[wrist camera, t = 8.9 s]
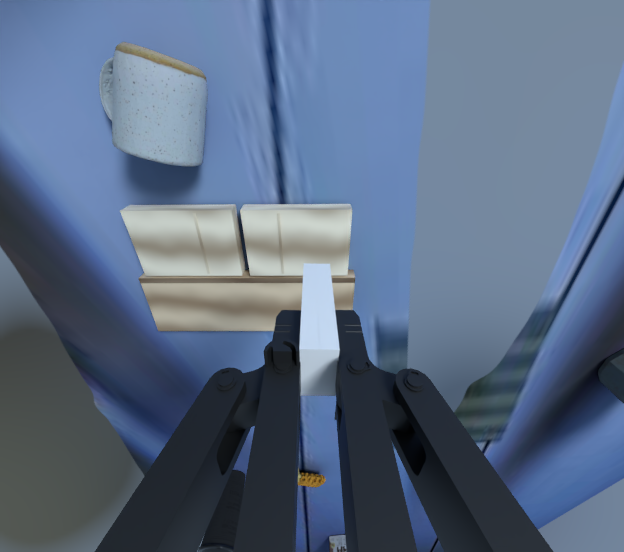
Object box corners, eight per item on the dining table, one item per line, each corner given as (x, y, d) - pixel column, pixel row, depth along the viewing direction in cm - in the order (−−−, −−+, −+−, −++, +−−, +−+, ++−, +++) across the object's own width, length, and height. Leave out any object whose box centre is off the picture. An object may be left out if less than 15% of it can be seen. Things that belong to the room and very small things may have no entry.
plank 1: (129, 204, 33) (119, 211, 31) (235, 204, 33) (230, 210, 31) (153, 267, 38) (145, 276, 36) (245, 267, 38) (242, 276, 36)
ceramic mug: (220, 74, 27) (187, 60, 20) (212, 161, 31) (183, 174, 24) (105, 38, 26) (30, 10, 19) (113, 134, 30) (53, 139, 23)
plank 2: (243, 204, 33) (239, 210, 31) (350, 203, 33) (352, 210, 31) (253, 267, 38) (250, 276, 36) (345, 267, 37) (347, 275, 36)
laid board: (146, 270, 38) (138, 278, 36) (353, 269, 38) (355, 277, 36) (164, 322, 42) (158, 331, 41) (349, 322, 42) (350, 331, 40)
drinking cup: (251, 468, 64) (228, 599, 46) (251, 484, 68) (229, 611, 50) (217, 465, 63) (181, 597, 46) (219, 482, 67) (186, 609, 50)
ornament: (335, 502, 62) (298, 492, 53) (296, 500, 66) (255, 490, 57) (336, 465, 66) (301, 451, 57) (300, 466, 71) (262, 452, 62)
